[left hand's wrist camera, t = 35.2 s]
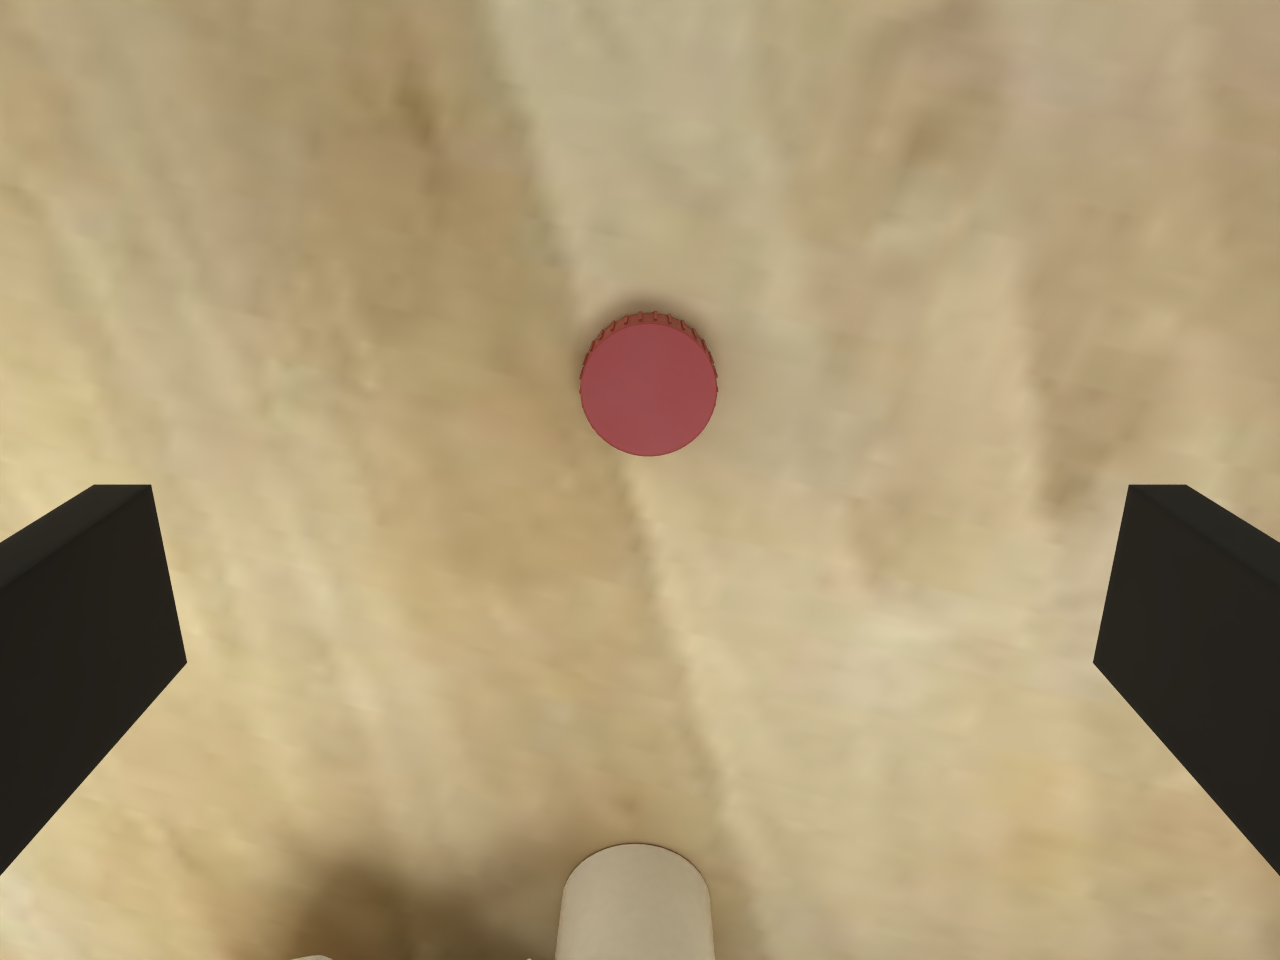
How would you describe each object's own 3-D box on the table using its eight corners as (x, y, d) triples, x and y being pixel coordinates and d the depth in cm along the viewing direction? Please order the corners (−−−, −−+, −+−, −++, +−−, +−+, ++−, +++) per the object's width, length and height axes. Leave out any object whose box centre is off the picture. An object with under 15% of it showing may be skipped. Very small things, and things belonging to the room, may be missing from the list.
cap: (698, 451, 27) (701, 470, 25) (572, 426, 27) (567, 444, 25) (728, 326, 26) (733, 337, 24) (596, 298, 26) (592, 307, 24)
